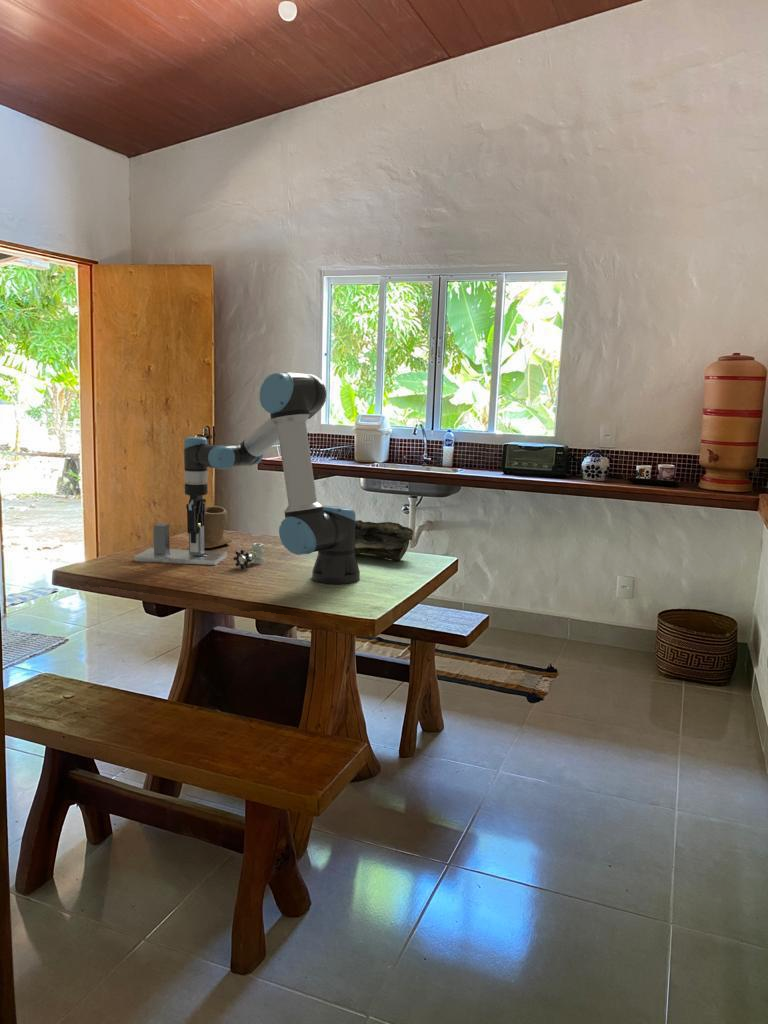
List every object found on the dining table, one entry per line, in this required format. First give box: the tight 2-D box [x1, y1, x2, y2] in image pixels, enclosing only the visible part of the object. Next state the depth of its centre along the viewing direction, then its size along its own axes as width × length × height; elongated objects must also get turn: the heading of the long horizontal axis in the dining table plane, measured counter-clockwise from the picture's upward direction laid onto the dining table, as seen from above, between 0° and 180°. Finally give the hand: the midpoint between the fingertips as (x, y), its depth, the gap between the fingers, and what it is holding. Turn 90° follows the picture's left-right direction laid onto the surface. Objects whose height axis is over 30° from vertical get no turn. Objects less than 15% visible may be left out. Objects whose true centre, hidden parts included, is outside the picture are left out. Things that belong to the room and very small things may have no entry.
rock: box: [355, 519, 414, 562], centre depth 270 cm, size 28×13×15 cm
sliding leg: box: [188, 523, 205, 556], centre depth 259 cm, size 4×4×11 cm
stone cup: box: [204, 505, 233, 549], centre depth 280 cm, size 15×12×15 cm
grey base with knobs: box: [133, 523, 228, 566], centre depth 260 cm, size 14×28×12 cm, turn 85°
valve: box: [232, 542, 265, 570], centre depth 254 cm, size 7×7×12 cm
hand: (196, 550), depth 260 cm, fingers closed on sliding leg, 4 cm apart
